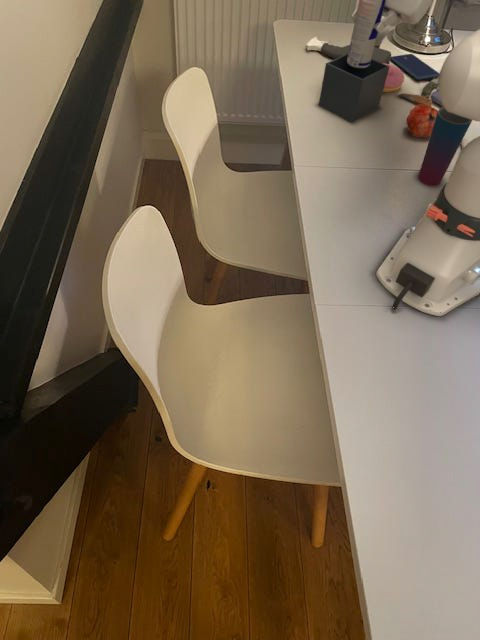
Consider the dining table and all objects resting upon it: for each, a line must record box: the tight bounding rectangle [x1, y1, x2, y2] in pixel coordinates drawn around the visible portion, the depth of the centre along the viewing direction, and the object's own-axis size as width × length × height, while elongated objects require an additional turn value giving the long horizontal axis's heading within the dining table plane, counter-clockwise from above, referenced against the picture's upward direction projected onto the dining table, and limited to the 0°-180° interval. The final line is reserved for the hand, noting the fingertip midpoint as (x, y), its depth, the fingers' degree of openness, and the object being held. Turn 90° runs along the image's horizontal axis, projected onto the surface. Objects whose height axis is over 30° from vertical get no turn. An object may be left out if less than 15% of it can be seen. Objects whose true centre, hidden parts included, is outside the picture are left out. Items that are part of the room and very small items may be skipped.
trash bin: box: [318, 53, 389, 123], centre depth 125 cm, size 11×11×11 cm
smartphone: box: [390, 53, 440, 81], centre depth 144 cm, size 8×1×15 cm
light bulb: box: [374, 15, 391, 48], centre depth 146 cm, size 6×6×10 cm
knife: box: [420, 77, 439, 98], centre depth 139 cm, size 20×1×3 cm
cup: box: [417, 106, 473, 186], centre depth 105 cm, size 7×7×15 cm
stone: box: [398, 92, 433, 107], centre depth 132 cm, size 9×2×3 cm
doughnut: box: [382, 63, 405, 93], centre depth 136 cm, size 11×11×4 cm
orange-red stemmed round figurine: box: [405, 104, 439, 138], centre depth 120 cm, size 7×7×10 cm
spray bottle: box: [305, 36, 392, 64], centre depth 146 cm, size 3×11×24 cm
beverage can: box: [347, 0, 385, 68], centre depth 115 cm, size 6×6×15 cm
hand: (365, 25), depth 114 cm, fingers closed on beverage can, 5 cm apart
